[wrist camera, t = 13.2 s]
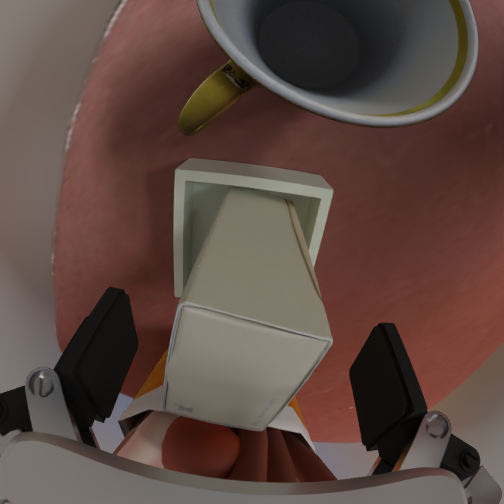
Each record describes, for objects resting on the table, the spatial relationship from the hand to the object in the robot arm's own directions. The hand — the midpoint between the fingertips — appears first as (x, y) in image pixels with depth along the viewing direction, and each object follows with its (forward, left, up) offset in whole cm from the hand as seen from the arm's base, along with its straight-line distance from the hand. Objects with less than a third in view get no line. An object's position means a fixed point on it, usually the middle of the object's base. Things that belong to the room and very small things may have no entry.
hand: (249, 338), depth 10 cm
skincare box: (0, 0, -10) cm, 10 cm away
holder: (0, 0, -11) cm, 11 cm away
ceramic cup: (-1, -11, -11) cm, 16 cm away
